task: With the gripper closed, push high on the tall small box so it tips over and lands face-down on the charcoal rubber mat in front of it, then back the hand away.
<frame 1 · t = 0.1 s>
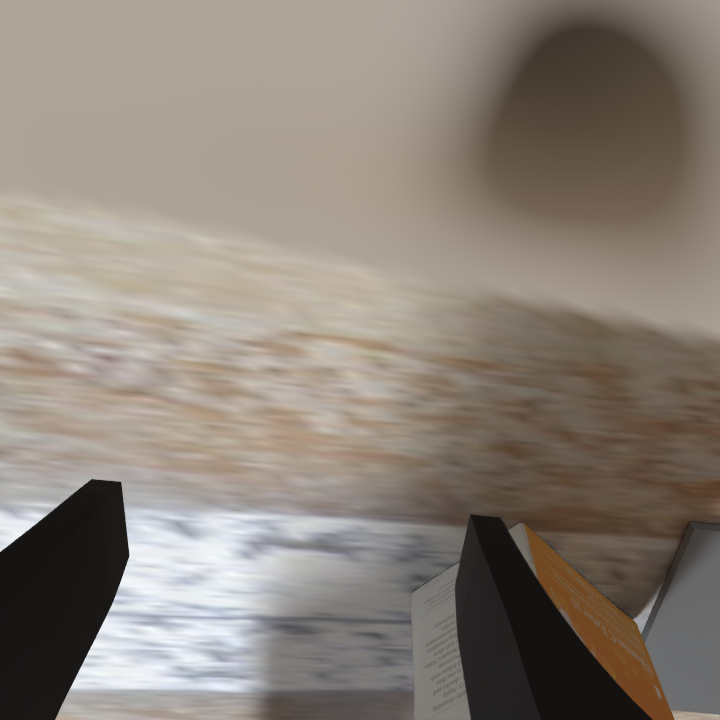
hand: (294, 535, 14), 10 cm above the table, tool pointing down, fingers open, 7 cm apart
small box: (522, 601, 29), on the table
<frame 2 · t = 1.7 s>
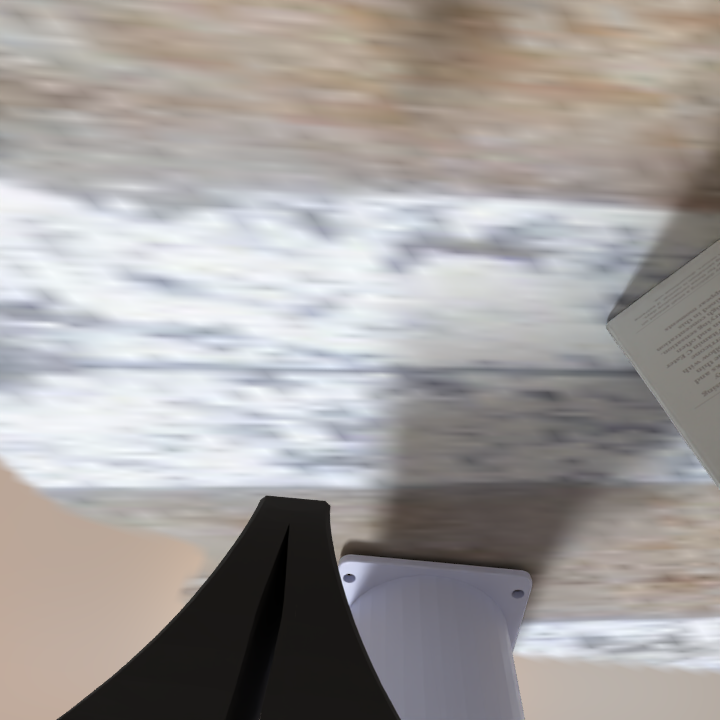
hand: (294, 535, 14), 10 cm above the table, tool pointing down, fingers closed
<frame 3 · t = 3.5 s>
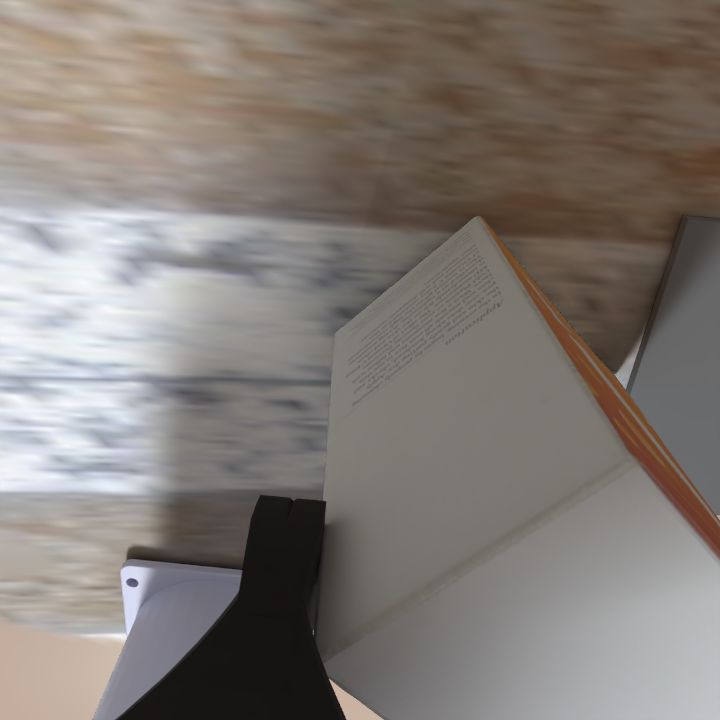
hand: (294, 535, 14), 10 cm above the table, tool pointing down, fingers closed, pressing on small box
small box: (475, 350, 23), on the table, touching gripper
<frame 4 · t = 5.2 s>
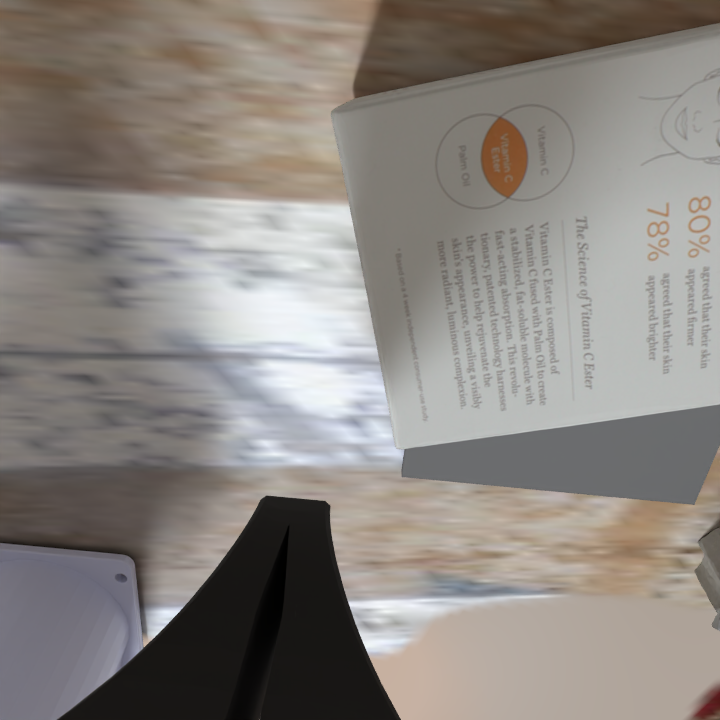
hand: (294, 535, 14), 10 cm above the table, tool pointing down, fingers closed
small box: (359, 263, 17), point 4 cm above the table, touching mat
mat: (581, 356, 22), on the table
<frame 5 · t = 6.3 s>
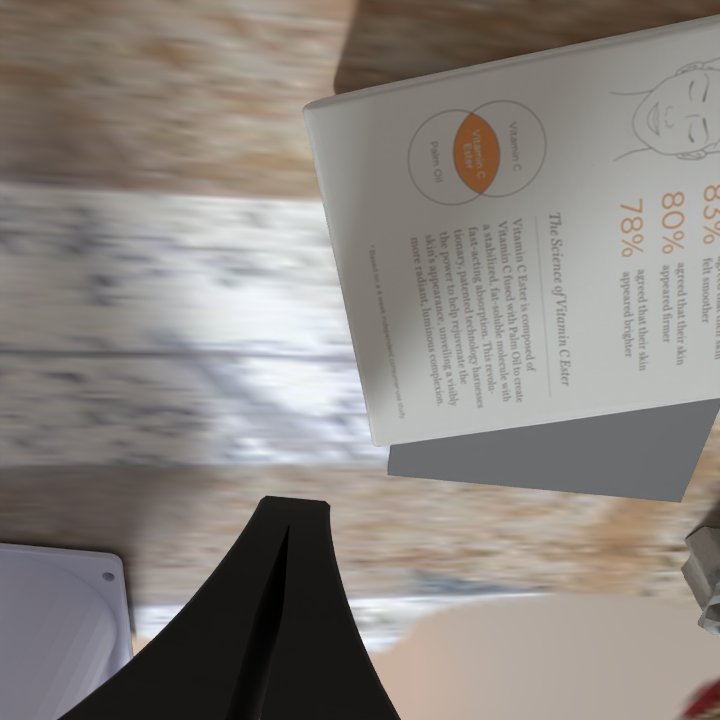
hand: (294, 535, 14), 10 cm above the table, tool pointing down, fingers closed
small box: (338, 260, 17), point 4 cm above the table, touching mat
mat: (566, 354, 22), on the table
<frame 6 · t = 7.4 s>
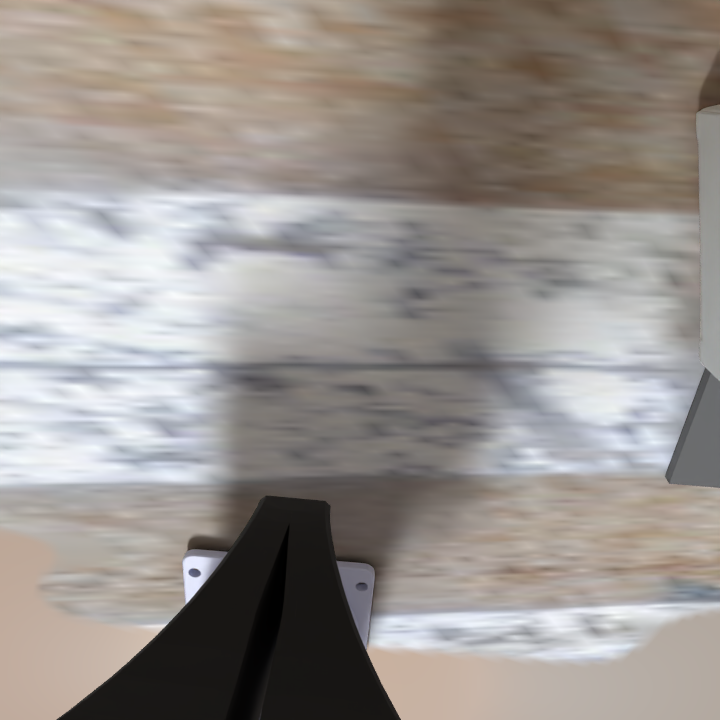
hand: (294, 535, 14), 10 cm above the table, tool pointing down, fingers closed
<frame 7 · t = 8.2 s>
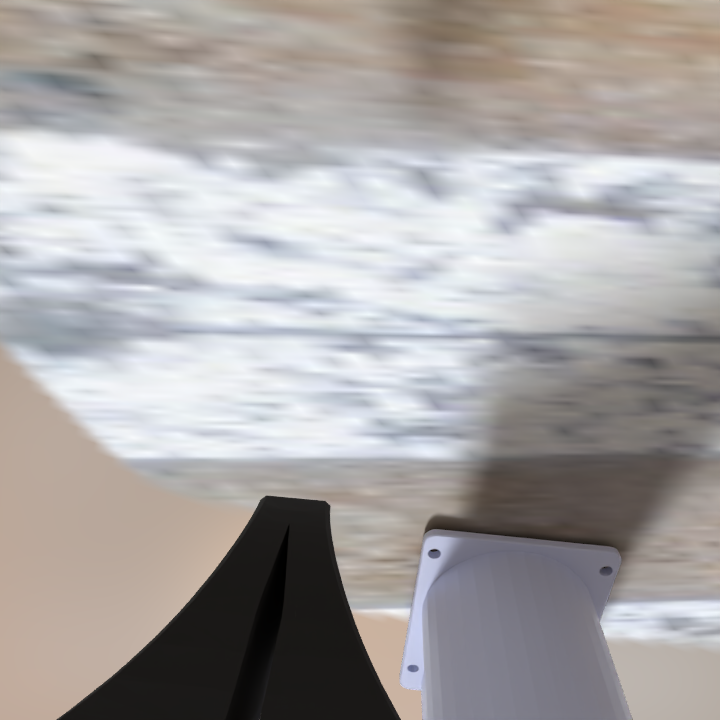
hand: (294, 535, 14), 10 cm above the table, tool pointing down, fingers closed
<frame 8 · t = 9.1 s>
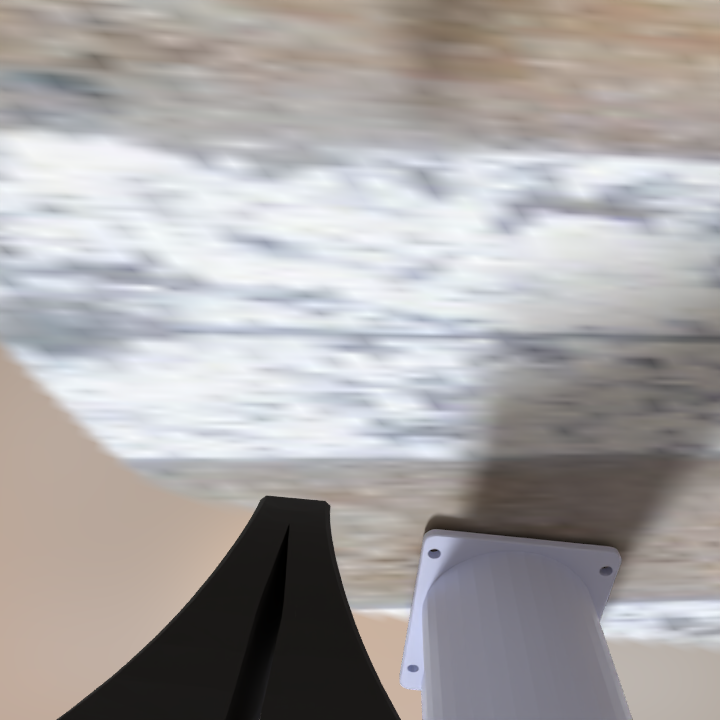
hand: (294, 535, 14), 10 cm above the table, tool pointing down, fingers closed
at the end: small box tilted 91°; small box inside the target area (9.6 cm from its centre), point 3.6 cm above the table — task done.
